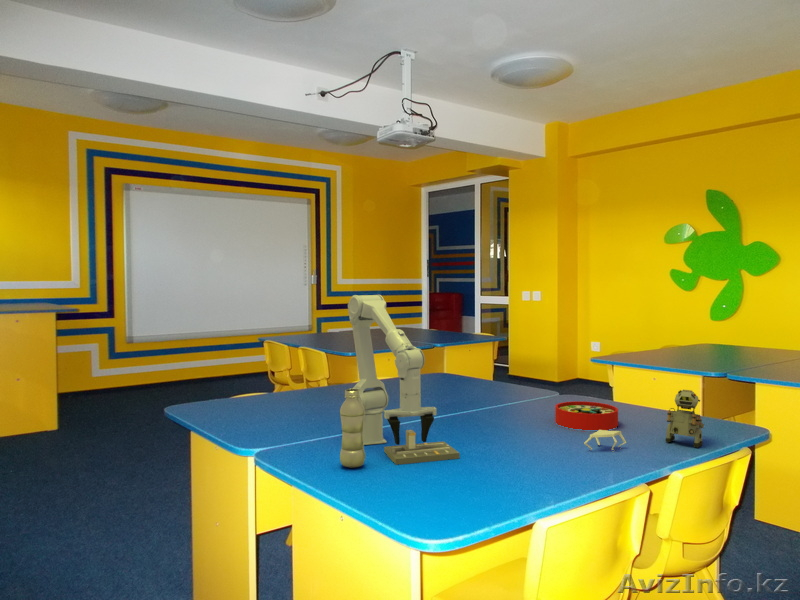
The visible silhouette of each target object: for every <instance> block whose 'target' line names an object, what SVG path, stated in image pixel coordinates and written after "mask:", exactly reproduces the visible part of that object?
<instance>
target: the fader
mask: <svg viewBox="0 0 800 600" xmlns="http://www.w3.org/2000/svg"><path fill="white" fill-rule="evenodd" d="M416 435H417V433H416V431H414V430H413V429H406V430H405V445H406V446H402V450H403V451H413V450H419V447H418V446H416V445H415V444H416Z"/></svg>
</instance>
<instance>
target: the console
mask: <svg viewBox="0 0 800 600" xmlns="http://www.w3.org/2000/svg"><path fill="white" fill-rule="evenodd" d="M415 445H416V446H418V447H419V450H413V451H403V450H402V446H406V444H401V445H400V444H399V445H391V446H390V445H389V446H384V447H383V453H384V452H385V453H386V454H387V455H386V454H385V453H384V454H385V455H386V456H387V457H388V458H389V459H390V460H391V461H392V463H393V462H394V463H395V464H394V463H393V464H394V465H395V466H396V465H397V466H398V464H399V465H408V464H418V463H427V462H428V463H429V462H437V461H448V459H449V460H457V459H460V457H461V456H460V453H461V452H459V451H458V450H456V448H454V447H452V446H451V445H449V444H448V443H447V442H445V441H444V440H443V441H435V442H422V443H421V442H420V443H415Z"/></svg>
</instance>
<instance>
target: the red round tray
mask: <svg viewBox="0 0 800 600" xmlns="http://www.w3.org/2000/svg"><path fill="white" fill-rule="evenodd" d="M554 407H555V409H554V410H555V411H554V417H555V418H554V419H555V420H554V423H555V422H556V423H557V424H558V425H561V426H564V427H568V428H573V429H582V430H609V429H613V428H616V427H617V426H618V427H619V409H618V407H617V406H614V405H611V404H607V403H603V402H595V401H577V400H575V401H562V402H559V403H557V404H555V406H554ZM556 423H555V424H556ZM558 425H557V426H558Z"/></svg>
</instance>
